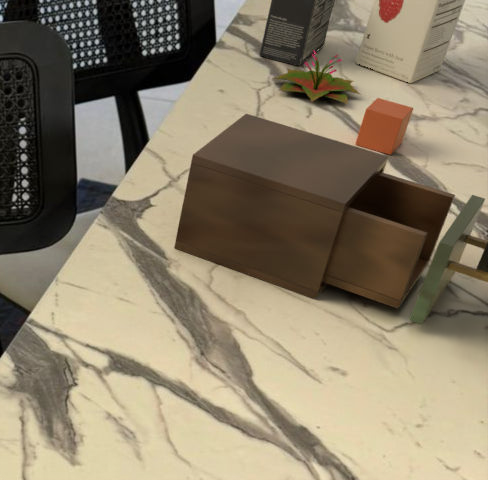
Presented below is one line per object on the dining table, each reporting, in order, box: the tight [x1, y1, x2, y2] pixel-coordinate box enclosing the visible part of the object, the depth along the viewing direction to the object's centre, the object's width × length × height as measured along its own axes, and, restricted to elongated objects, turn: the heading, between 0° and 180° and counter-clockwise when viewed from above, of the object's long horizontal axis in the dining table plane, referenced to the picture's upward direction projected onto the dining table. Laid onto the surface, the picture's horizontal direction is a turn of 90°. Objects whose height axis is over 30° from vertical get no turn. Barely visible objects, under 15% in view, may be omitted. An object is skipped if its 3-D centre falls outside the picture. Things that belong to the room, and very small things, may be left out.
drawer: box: [323, 172, 488, 325], centre depth 93 cm, size 19×11×8 cm, turn 57°
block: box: [355, 97, 414, 156], centre depth 121 cm, size 4×4×4 cm
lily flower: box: [272, 51, 362, 105], centre depth 132 cm, size 12×12×5 cm
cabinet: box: [173, 113, 389, 300], centre depth 98 cm, size 15×13×10 cm
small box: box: [259, 0, 336, 67], centre depth 141 cm, size 11×6×10 cm, turn 149°
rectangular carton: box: [355, 0, 466, 84], centre depth 138 cm, size 9×9×15 cm
